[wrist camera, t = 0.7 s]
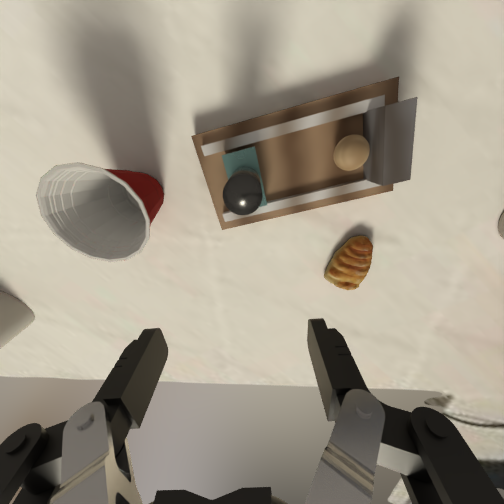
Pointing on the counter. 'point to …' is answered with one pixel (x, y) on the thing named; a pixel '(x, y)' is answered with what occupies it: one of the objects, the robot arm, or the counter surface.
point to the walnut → (351, 152)
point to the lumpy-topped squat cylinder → (13, 317)
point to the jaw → (243, 182)
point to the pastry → (350, 263)
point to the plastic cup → (99, 209)
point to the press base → (315, 151)
